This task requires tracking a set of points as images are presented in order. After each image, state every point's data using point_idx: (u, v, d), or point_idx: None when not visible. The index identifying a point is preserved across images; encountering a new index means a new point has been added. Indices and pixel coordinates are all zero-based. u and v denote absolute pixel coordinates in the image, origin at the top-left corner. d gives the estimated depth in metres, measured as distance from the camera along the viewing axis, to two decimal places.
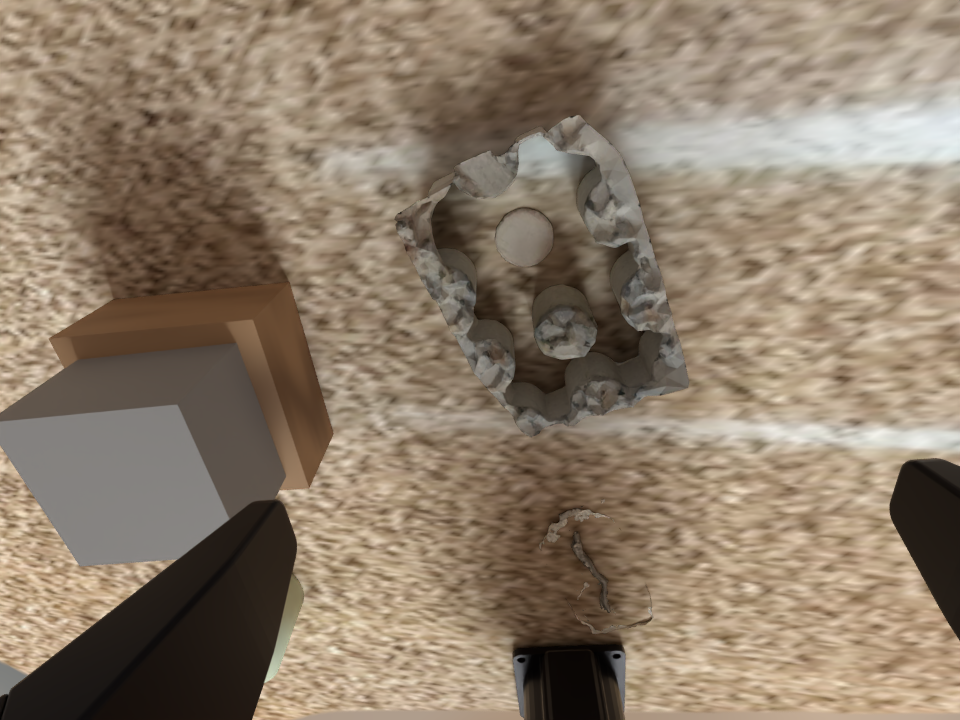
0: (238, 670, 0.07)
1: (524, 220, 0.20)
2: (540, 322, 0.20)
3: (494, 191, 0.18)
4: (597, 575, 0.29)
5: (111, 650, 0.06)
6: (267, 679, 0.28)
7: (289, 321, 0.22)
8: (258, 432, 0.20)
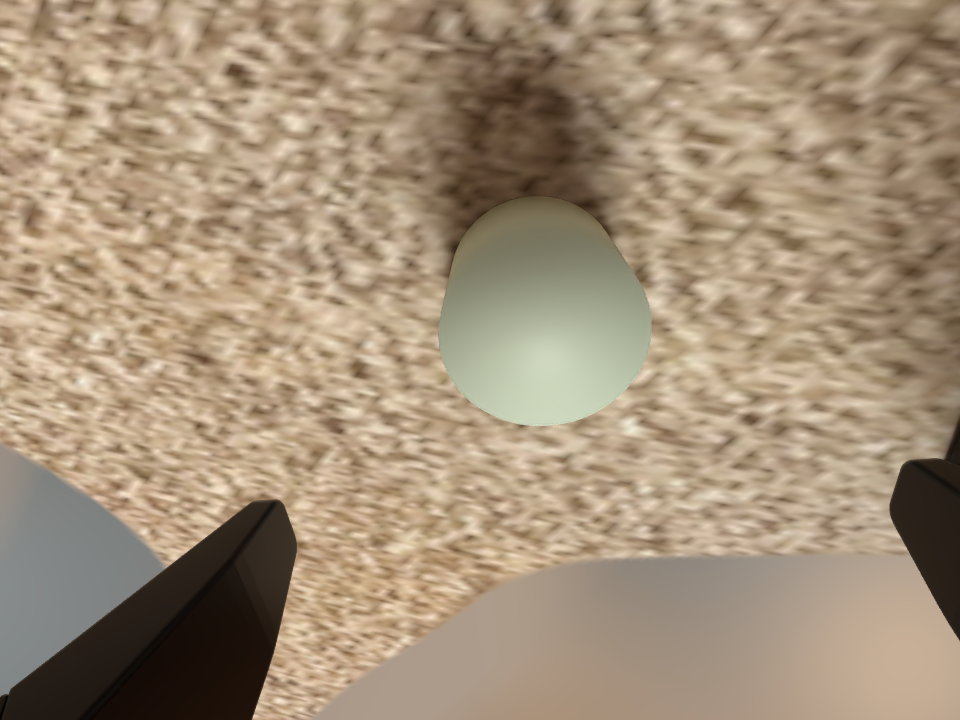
0: (238, 670, 0.07)
1: None
2: None
3: None
4: None
5: (111, 650, 0.06)
6: (603, 403, 0.14)
7: None
8: None
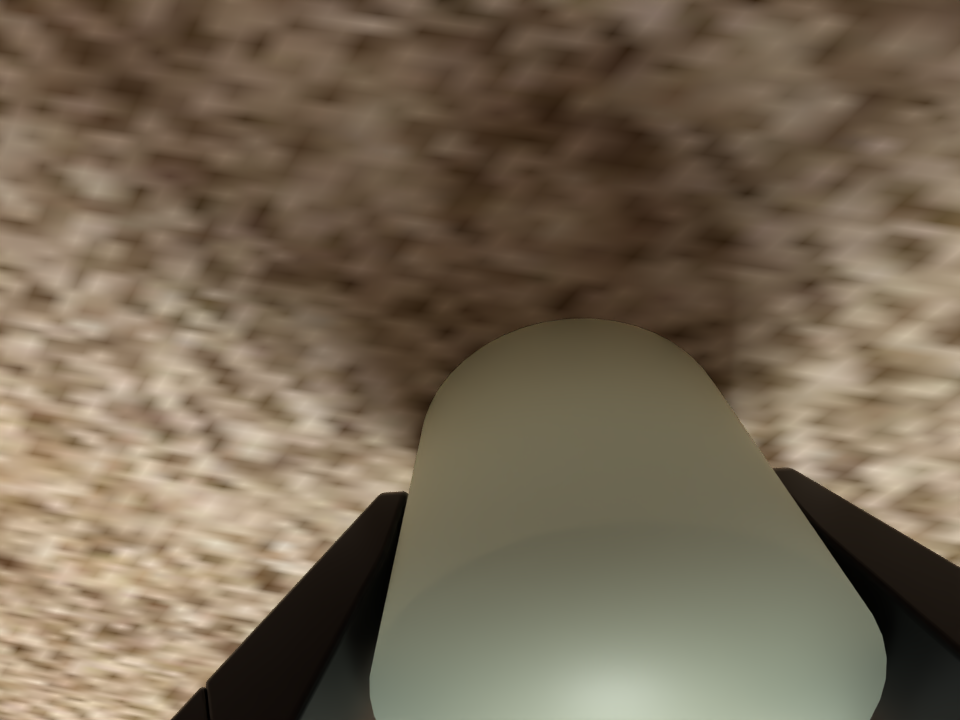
0: None
1: None
2: None
3: None
4: None
5: (297, 642, 0.05)
6: None
7: None
8: None
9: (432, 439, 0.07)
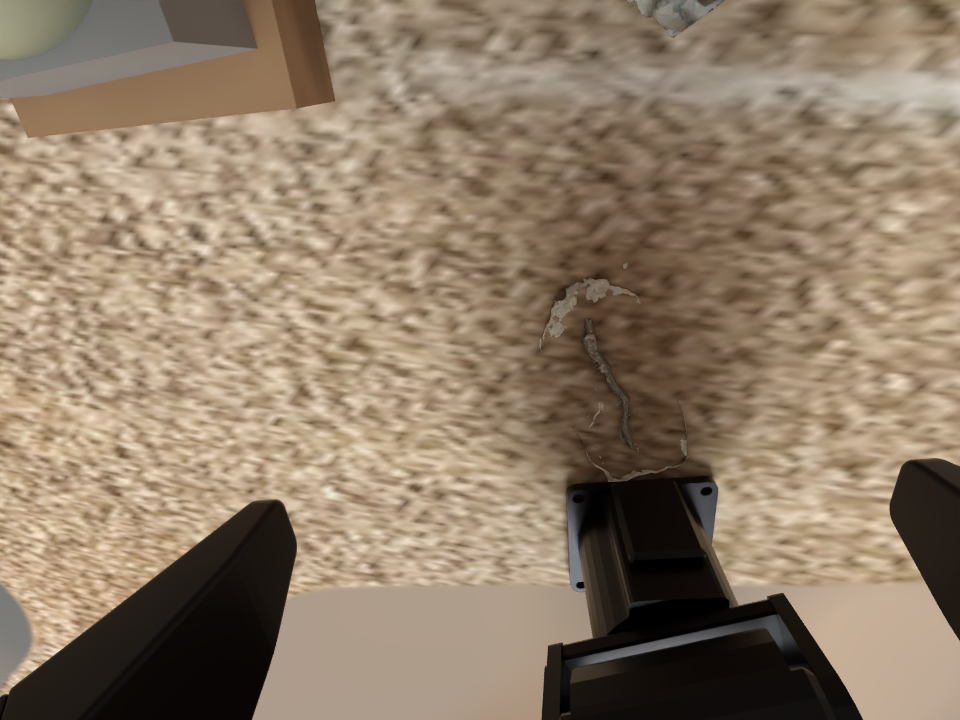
0: (238, 670, 0.07)
1: None
2: None
3: None
4: (616, 387, 0.22)
5: (111, 650, 0.06)
6: None
7: None
8: None
9: None
